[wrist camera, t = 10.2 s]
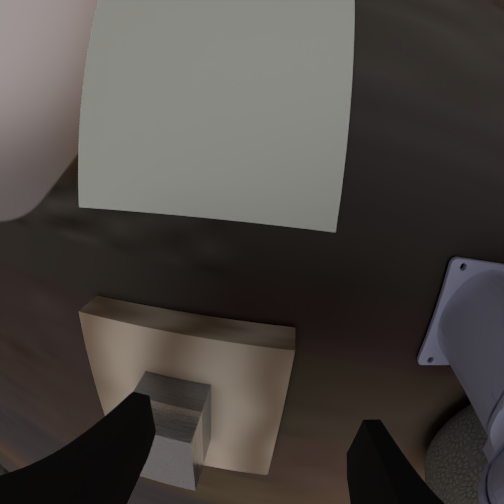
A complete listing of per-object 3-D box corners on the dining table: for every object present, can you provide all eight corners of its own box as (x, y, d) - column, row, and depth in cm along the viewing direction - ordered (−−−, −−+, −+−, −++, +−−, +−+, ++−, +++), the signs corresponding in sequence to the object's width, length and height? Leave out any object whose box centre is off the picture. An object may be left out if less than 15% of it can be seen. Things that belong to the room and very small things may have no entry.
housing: (211, 384, 19) (190, 443, 14) (210, 438, 21) (195, 490, 16) (145, 370, 19) (114, 422, 15) (154, 425, 21) (132, 473, 17)
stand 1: (347, -11, 13) (354, -30, 10) (329, 220, 17) (335, 232, 15) (121, -5, 14) (102, -18, 12) (101, 199, 19) (79, 207, 16)
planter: (521, 351, 18) (582, 434, 8) (517, 422, 21) (552, 491, 11) (400, 420, 22) (426, 529, 11) (422, 474, 24) (439, 553, 14)
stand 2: (295, 327, 20) (295, 350, 17) (269, 453, 24) (267, 474, 22) (97, 295, 21) (78, 311, 19) (123, 422, 26) (113, 440, 23)
